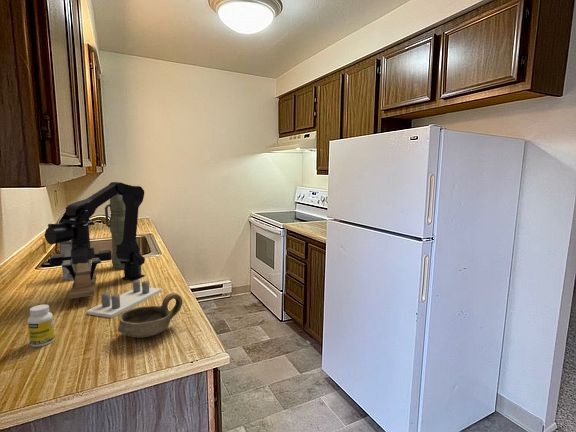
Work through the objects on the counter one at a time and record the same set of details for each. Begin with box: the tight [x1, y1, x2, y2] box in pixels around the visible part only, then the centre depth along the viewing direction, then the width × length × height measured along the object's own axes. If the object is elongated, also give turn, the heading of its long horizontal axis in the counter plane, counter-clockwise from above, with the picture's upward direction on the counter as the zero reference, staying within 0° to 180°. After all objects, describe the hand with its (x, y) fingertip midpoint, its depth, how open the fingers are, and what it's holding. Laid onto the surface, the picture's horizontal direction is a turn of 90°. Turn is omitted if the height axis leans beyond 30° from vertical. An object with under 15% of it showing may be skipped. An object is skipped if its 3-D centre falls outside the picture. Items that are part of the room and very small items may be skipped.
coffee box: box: [59, 240, 92, 281], centre depth 139 cm, size 9×6×16 cm
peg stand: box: [85, 279, 163, 319], centre depth 114 cm, size 24×10×5 cm, turn 164°
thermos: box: [104, 194, 126, 271], centre depth 152 cm, size 9×12×35 cm
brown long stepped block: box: [69, 269, 97, 299], centre depth 118 cm, size 20×7×6 cm, turn 29°
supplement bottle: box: [27, 304, 56, 348], centre depth 86 cm, size 5×5×10 cm
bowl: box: [117, 292, 183, 338], centre depth 92 cm, size 14×18×10 cm
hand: (83, 280), depth 118 cm, fingers closed on brown long stepped block, 4 cm apart
